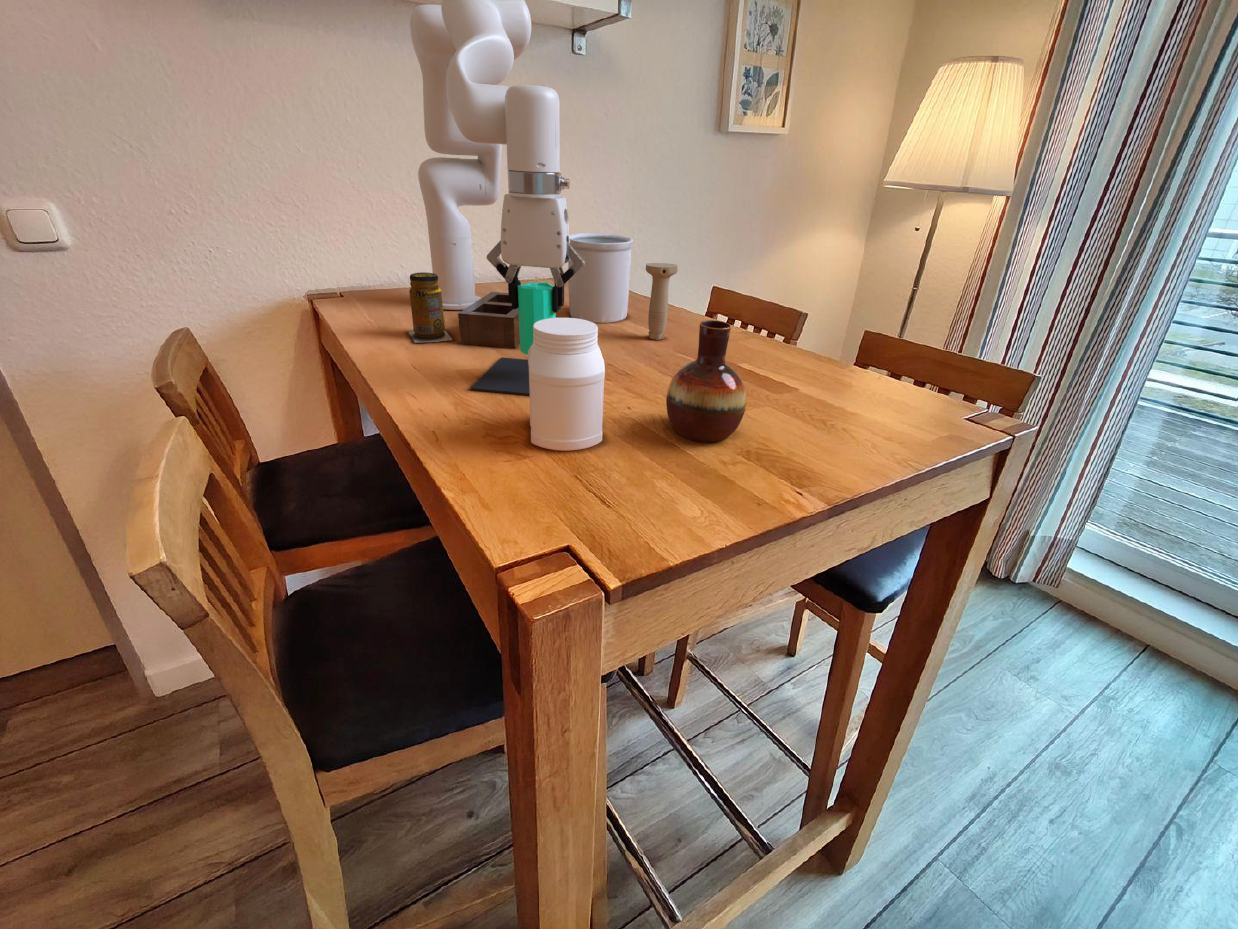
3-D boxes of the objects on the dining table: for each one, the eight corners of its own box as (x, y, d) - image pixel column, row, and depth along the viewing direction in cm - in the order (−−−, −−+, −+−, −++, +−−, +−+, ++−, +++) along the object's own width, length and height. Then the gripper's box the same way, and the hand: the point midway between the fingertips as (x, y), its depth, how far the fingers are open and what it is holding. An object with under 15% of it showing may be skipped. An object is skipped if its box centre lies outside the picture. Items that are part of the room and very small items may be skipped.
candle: (527, 357, 94) (524, 280, 88) (515, 346, 98) (511, 273, 93) (561, 353, 96) (561, 278, 91) (548, 343, 101) (546, 271, 95)
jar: (605, 450, 77) (609, 338, 70) (531, 452, 76) (528, 338, 69) (594, 414, 87) (597, 314, 80) (529, 416, 86) (526, 314, 79)
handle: (673, 341, 123) (680, 267, 116) (643, 341, 122) (648, 266, 115) (668, 335, 127) (674, 263, 120) (639, 335, 126) (643, 262, 119)
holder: (460, 343, 115) (457, 313, 112) (492, 318, 132) (491, 291, 129) (514, 348, 114) (513, 317, 111) (540, 322, 131) (539, 295, 128)
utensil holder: (617, 327, 131) (621, 244, 122) (556, 318, 135) (556, 238, 126) (637, 312, 143) (641, 236, 135) (580, 305, 147) (581, 231, 139)
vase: (651, 419, 87) (659, 315, 79) (716, 411, 90) (730, 311, 83) (684, 452, 78) (697, 338, 70) (756, 442, 81) (775, 333, 74)
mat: (470, 390, 94) (470, 387, 93) (501, 359, 108) (501, 357, 107) (581, 400, 92) (581, 398, 92) (597, 367, 106) (597, 365, 106)
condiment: (444, 329, 123) (438, 270, 117) (452, 340, 116) (447, 278, 111) (408, 332, 120) (400, 271, 114) (414, 344, 113) (406, 280, 108)
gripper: (596, 187, 88) (593, 307, 97) (485, 181, 90) (492, 299, 98) (587, 190, 82) (585, 319, 90) (468, 183, 83) (477, 310, 92)
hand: (536, 307), depth 94 cm, fingers closed on candle, 6 cm apart
